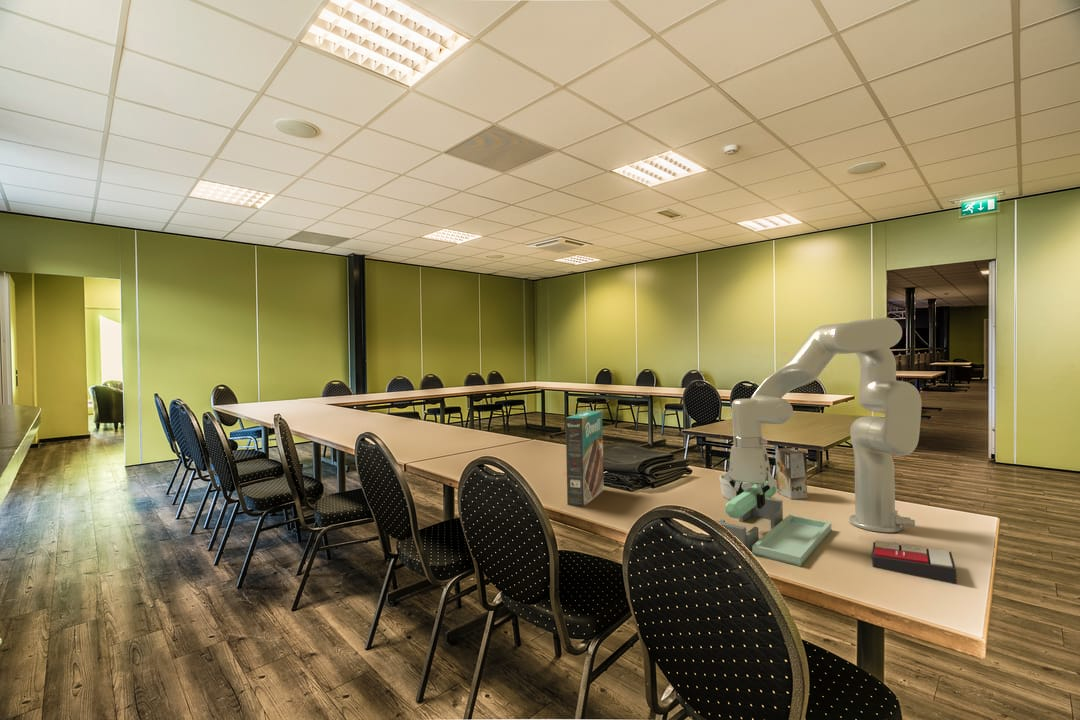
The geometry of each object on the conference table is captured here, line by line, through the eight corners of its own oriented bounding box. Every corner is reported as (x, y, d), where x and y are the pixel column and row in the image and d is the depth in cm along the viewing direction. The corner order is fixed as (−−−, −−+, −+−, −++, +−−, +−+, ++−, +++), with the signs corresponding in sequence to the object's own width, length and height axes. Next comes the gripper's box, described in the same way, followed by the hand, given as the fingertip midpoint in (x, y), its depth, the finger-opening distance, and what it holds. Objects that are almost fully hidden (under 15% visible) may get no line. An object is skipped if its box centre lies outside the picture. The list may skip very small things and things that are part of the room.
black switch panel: (873, 538, 121) (950, 548, 112) (874, 555, 120) (952, 566, 111) (871, 553, 112) (955, 565, 103) (872, 571, 112) (957, 585, 103)
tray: (831, 530, 135) (831, 522, 135) (800, 566, 112) (800, 557, 112) (789, 521, 143) (789, 514, 143) (752, 554, 120) (752, 545, 120)
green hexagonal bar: (736, 497, 126) (771, 475, 143) (717, 502, 130) (753, 480, 147) (746, 520, 124) (780, 494, 142) (726, 524, 128) (761, 499, 146)
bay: (784, 520, 144) (784, 500, 144) (745, 553, 121) (745, 529, 121) (750, 513, 151) (750, 494, 151) (707, 543, 128) (707, 521, 127)
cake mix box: (583, 506, 161) (582, 418, 161) (567, 504, 164) (565, 417, 163) (603, 489, 181) (602, 411, 181) (588, 488, 183) (587, 410, 183)
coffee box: (808, 498, 165) (807, 452, 165) (791, 499, 164) (790, 453, 164) (791, 491, 174) (790, 447, 174) (775, 492, 173) (774, 448, 173)
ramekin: (765, 496, 169) (764, 477, 169) (753, 505, 159) (753, 484, 159) (727, 490, 177) (726, 471, 177) (713, 498, 167) (713, 478, 167)
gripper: (783, 442, 133) (787, 507, 133) (723, 437, 144) (726, 497, 144) (775, 447, 127) (778, 515, 127) (713, 441, 139) (716, 504, 139)
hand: (750, 505), depth 136 cm, fingers closed on green hexagonal bar, 4 cm apart
